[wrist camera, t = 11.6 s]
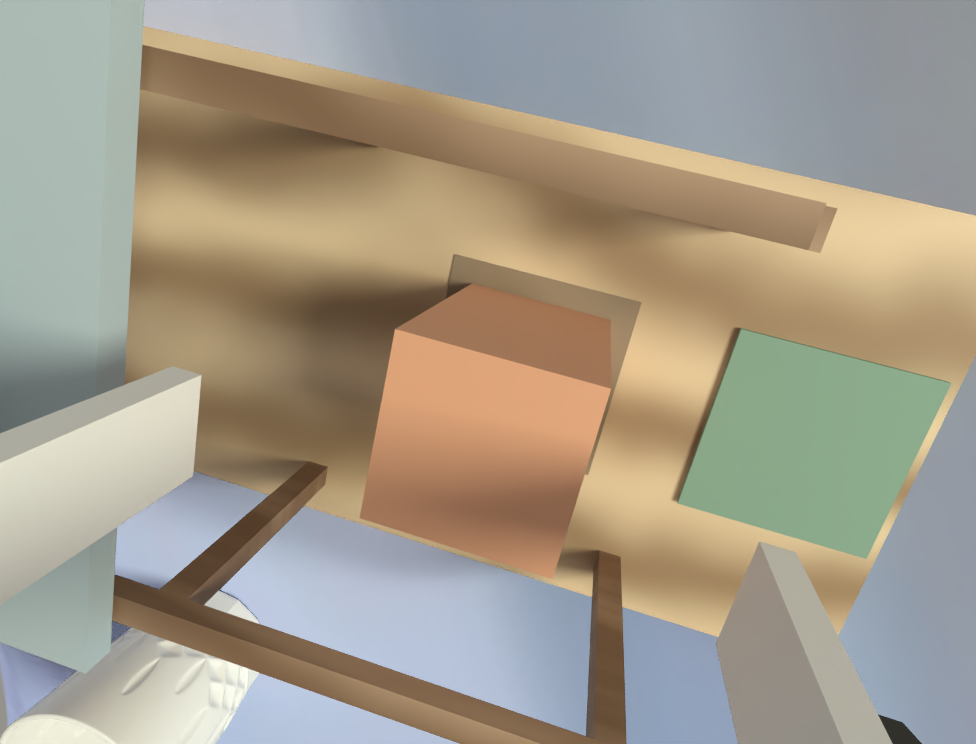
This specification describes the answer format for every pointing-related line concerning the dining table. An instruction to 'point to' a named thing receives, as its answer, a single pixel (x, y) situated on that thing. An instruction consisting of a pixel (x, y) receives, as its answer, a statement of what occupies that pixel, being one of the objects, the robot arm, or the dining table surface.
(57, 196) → the lid
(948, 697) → the dining table surface
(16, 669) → the dining table surface
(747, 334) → the felt pad
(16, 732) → the white cup
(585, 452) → the block
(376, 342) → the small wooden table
